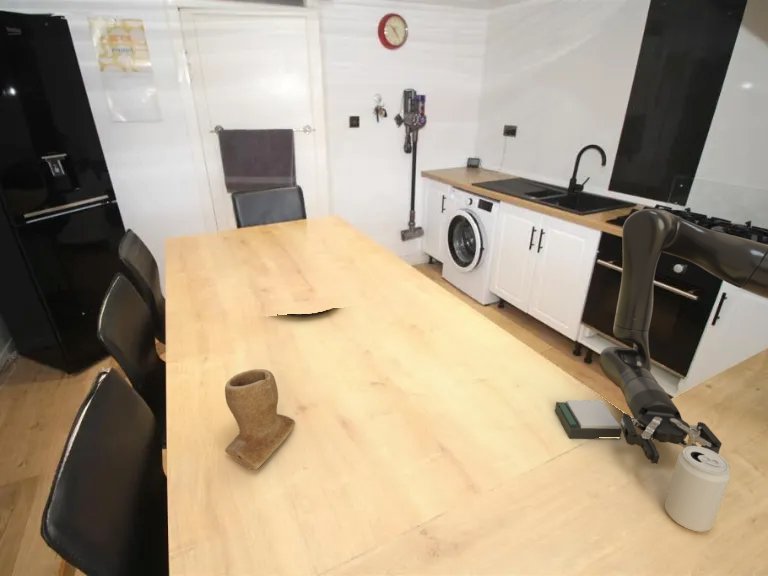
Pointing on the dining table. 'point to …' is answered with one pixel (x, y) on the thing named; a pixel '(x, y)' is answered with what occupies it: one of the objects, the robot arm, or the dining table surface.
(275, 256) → the dining table surface
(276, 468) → the dining table surface
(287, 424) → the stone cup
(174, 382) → the dining table surface
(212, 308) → the dining table surface
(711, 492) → the beverage can
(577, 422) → the scale
